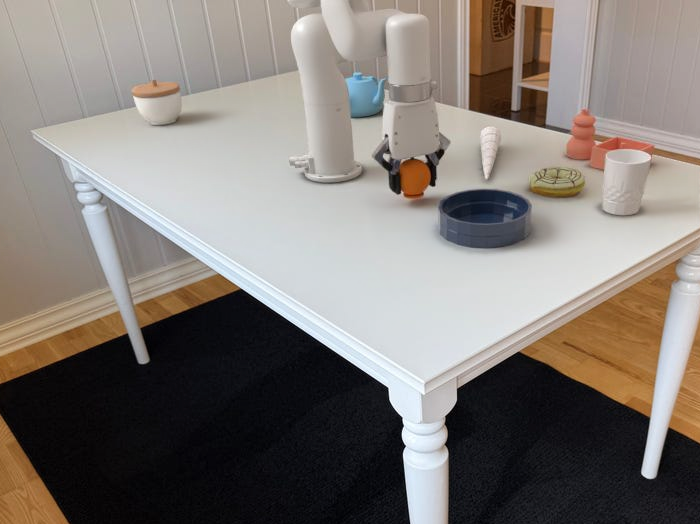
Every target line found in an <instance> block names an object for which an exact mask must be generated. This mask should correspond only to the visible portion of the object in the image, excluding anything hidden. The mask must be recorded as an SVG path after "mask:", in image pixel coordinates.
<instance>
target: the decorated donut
mask: <svg viewBox="0 0 700 524" xmlns="http://www.w3.org/2000/svg"><path fill="white" fill-rule="evenodd" d="M528 179H529V189H530V190H531V192H532V193H534V194H537V195H541V196H544V197H549V198H558V199H561V198H570V197H576V196H578V195H579V194H580V193H581V192H582V190H584V187H585V184H586V176H585V174H584V173H583V172H581V171H580V170H579V169H575V168H573V167H562V166H561V167H560V166H551V167H545V168H541V169H539V170H537V171H535V172H533V173H532V174H530V176H529V178H528Z"/></svg>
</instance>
